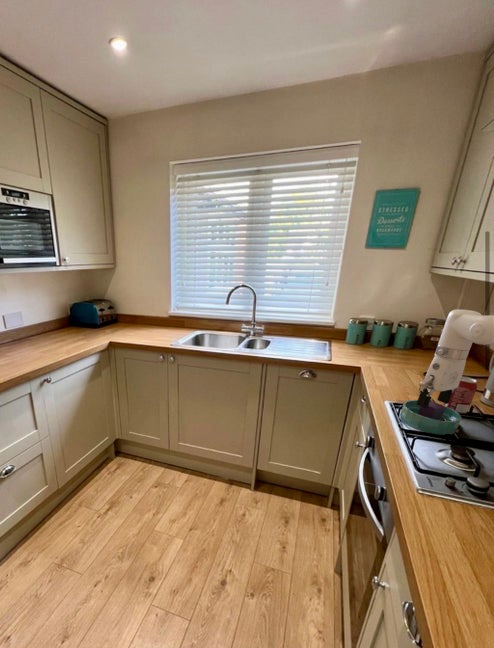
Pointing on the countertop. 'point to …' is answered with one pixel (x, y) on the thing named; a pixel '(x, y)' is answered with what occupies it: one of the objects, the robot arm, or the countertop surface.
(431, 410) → the snack carton
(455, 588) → the countertop surface
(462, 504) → the countertop surface
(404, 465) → the countertop surface
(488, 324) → the robot arm
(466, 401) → the soda can
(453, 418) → the bowl
